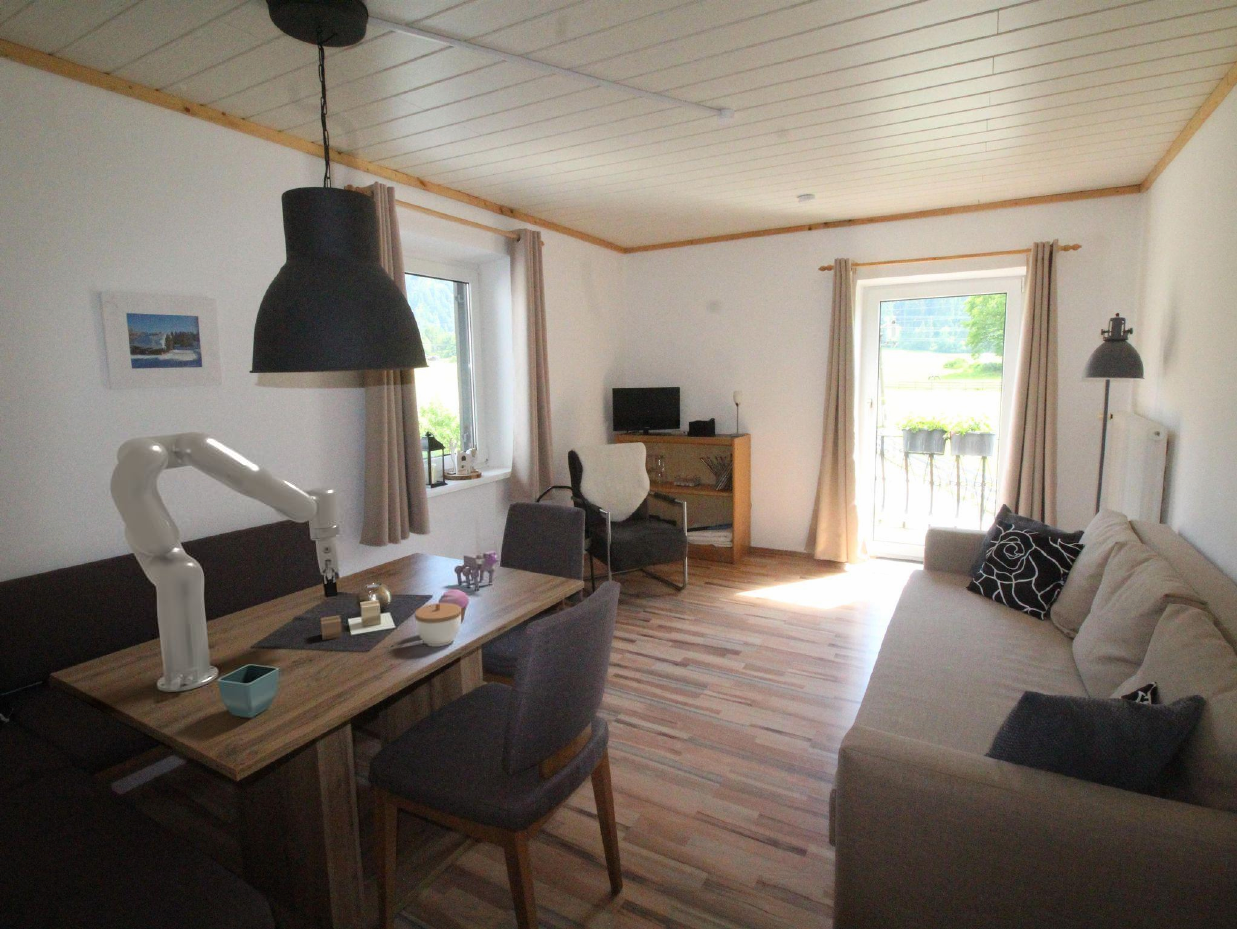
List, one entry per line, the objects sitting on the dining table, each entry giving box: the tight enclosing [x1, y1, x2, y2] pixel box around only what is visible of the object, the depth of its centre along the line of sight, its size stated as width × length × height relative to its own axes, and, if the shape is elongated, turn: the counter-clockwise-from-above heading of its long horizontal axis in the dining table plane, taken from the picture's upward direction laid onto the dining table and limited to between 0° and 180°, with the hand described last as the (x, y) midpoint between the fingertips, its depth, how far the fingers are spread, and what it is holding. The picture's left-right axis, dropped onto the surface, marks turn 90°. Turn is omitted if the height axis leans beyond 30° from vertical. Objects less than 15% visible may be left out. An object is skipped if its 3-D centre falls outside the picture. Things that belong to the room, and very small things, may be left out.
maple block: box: [359, 599, 381, 627], centre depth 195 cm, size 5×5×6 cm
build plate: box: [347, 612, 396, 636], centre depth 195 cm, size 14×12×1 cm
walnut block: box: [320, 614, 343, 641], centre depth 186 cm, size 5×5×6 cm
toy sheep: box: [454, 549, 500, 590], centre depth 232 cm, size 20×11×14 cm, turn 51°
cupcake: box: [437, 589, 470, 622], centre depth 197 cm, size 9×9×10 cm
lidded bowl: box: [414, 602, 462, 648], centre depth 183 cm, size 13×13×11 cm
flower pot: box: [216, 663, 280, 719], centre depth 145 cm, size 9×9×9 cm
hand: (330, 591), depth 185 cm, fingers open, 9 cm apart
